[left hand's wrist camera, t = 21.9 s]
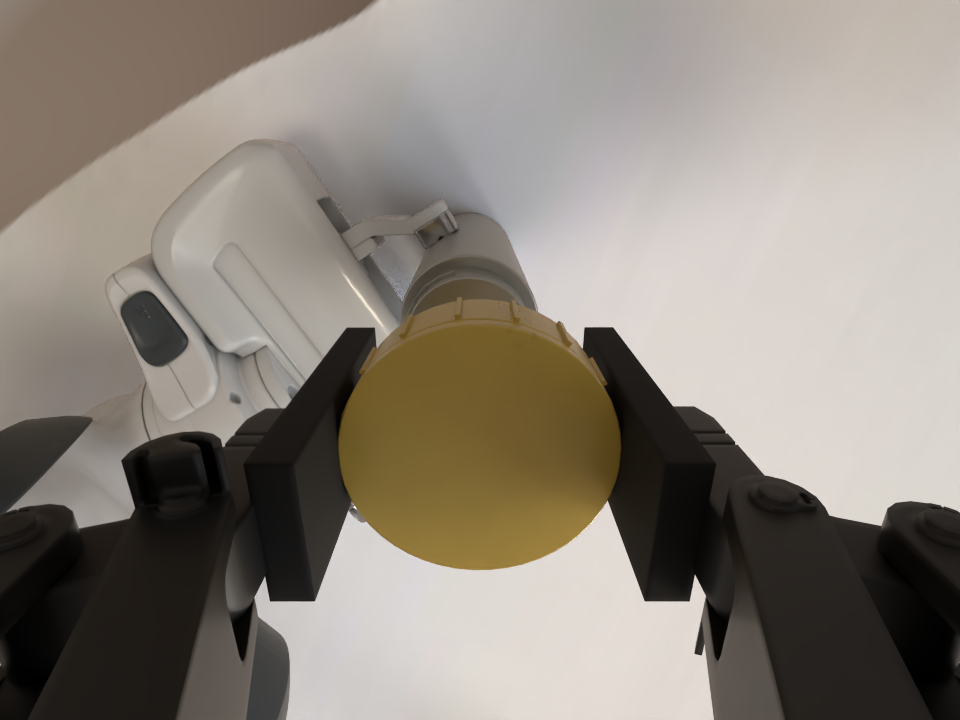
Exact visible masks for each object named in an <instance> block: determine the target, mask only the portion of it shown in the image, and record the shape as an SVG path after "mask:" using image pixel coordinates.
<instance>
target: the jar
mask: <svg viewBox="0 0 960 720" xmlns="http://www.w3.org/2000/svg"><path fill="white" fill-rule="evenodd" d="M454 218H455V220H456V222H457V223H458V225H459V226H458V229H456V230H455V231H454V232H452V233H451V234H449V235H447V236H445V237H444V236H440V237H439V239H438V241H437V242H436V243H435V244H433V245H431V246H430V247H428V248H427V250H426V252H425V255H424V257H423V259H422V261H421V263H420V265H419V267H418V269H417V271H416V274H415V276H414V278H413V280H412V282H411V284H410V286H409V288H408V290H407V293H406V295H405V297H404V300H403V303H402V307H401V312H400V325H401V324H402V323H404V322H405V320H406V318H407V316H408V315H410V314H412V315H413V316H415V315H417V314H419V313H421V312H423V311H426V310H428V309H430V308H433V307H435V306H439V305H442V304H446V303H450V302H455V301H457V298H458V297H462V299H463V300H470V299H489V300H497V301H505V302H509V303H510V302H511V299H512V300H516V303H517V305H521V306H524V307H526V308H529V309H531V310H534V311H536V312H538V308H537V305H536V301H535V298H534V296H533V294H532V291H531V289H530V287H529V284H528V282H527V280H526V278H525V275H524V273H523V271H522V268H521V266H520V264H519V262H518V259H517V257H516V255H515V252H514V250H513V248H512V246H511V243H510V241H509V239H508V236H507V235H506V233H505V231H504V230H503V229H502V227H501V226H500V225H499V224H498V223H497V222H495V221H494V220H493V219H491V218H489V217H487V216H484V215H482V214H477V213H463V214H459V215H456V216H454Z"/></svg>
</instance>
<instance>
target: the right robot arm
mask: <svg viewBox="0 0 960 720" xmlns="http://www.w3.org/2000/svg"><path fill="white" fill-rule="evenodd" d="M458 226H459V225H458V223H457V222H456V220H455V218H454V216H453V215H452V213H451V211H450V209H449V208H448V206H447V204H446V203H445V201H444V200H443V198H442V199H440V200H438V201H437V202H435V203H433V204H432V205H430V206H429V207H427V208H426V209H424V210H422V211H421V212H419V213H418V214H416V215H415V216H413V217H411V216H410V215H388V216H369V217H367V218H366V219H364V220H362V221H361V222H359V223H358V224H356V225H355V226H353V227H351V225H350V224H349V222H348V221H347V219H346V218H345V216H344V215H343V214H342V212H341V211H340V209H339V208H338V206H337V205H336V203H335V202H334V200H333V199H332V197H331V196H330V194H329V193H328V191H327V190H326V188H325V187H324V185H323V184H322V182H321V181H320V180H319V178H318V177H317V175H316V174H315V172H314V171H313V169H312V168H311V166H310V165H309V163H308V162H307V160H306V159H305V157H304V156H303V154H302V153H301V151H300V150H299V149H298V148H297V147H296V146H294V145H292V144H288V143H284V142H280V141H276V140H270V139H255V140H250V141H247V142H244V143H242V144H241V145H239V146H237V147H236V148H234V149H233V150H232V151H230V152H229V153H227V154H226V155H225V156H224V157H222V158H221V159H220V160H219V161H217V162H216V163H215V164H214V165H212V166H211V167H210V168H209V169H208V170H207V171H205V172H204V173H203V174H202V175H201V176H200V177H199V178H198V179H197V180H195V181H194V182H193V183H192V184H191V185H190V186H189V187H188V188H187V189H186V190H185V191H184V192H183V193H182V194H181V195H180V196H179V197H178V198H177V199H176V200H175V201H174V202H173V203H172V204H171V205H170V207H169V208H168V209H167V210H166V211H165V212H164V214H163V215H162V216H161V218H160V219H159V221H158V223H157V225H156V226H155V229H154V232H153V235H152V240H151V253H150V254H148V255H146V256H143V257H141V258H139V259H137V260H135V261H133V262H131V263H130V264H128V265H126V266H124V267H123V268H121V269H120V270H118V271H117V272H115V273H114V274H112V275H111V276H110V277H109V278H108V280H107V281H106V284H105V291H106V295H107V298H108V301H109V303H110V305H111V307H112V309H113V311H114V313H115V315H116V317H117V319H118V321H119V323H120V325H121V327H122V329H123V331H124V333H125V335H126V337H127V339H128V341H129V343H130V345H131V347H132V349H133V351H134V353H135V356H136V358H137V360H138V362H139V365H140V367H141V370H142V372H143V375H144V377H145V379H144V380H143V382H142V383H141V384H140V386H139V387H138V388H137V389H136V390H135V391H134V392H132V393H130V394H126V395H122V396H118V397H115V398H112V399H109V400H107V401H105V402H103V403H101V404H99V405H98V406H96V407H94V408H93V409H91V410H90V411H88V412H87V413H85V414H84V415H82V416H61V417H51V418H40V419H31V420H25V421H22V422H19V423H17V424H15V425H13V426H10V427H8V428H6V429H4V430H2V431H0V516H1V515H2V514H4V513H6V512H9V511H12V510H15V509H17V510H19V508H23V507H27V506H36V505H44V504H56V505H65V506H66V507H68V508H69V509H70V510H72V511H73V513H74V516H75V519H76V522H77V525H78V527H79V528H84V527H89V526H94V525H100V524H105V523H110V522H115V521H120V520H125V519H129V518H130V517H131V515H132V513H133V511H134V509H135V506H134V503H133V499H132V496H131V493H130V489H129V486H128V483H127V479H126V476H125V473H124V469H123V466H122V462H121V460H122V459H123V458H124V457H125V456H126V455H127V454H128V453H129V452H130V451H131V450H133V449H135V448H137V447H138V446H140V445H142V444H144V443H145V442H148V441H151V440H153V439H156V438H159V437H162V436H165V435H170V434H175V433H180V432H191V431H202V432H207V433H213V434H214V435H216V436H217V437H219V438H220V439H221V442H222V447H225V443H226V442H227V441H228V440H229V439H230V438H231V436H234V435H235V432H236V431H237V430H238V428H239V427H240V426H241V425H242V424H243V423H244V422H245V420H246V419H248V418H250V417H252V416H253V415H255V414H257V413H258V412H260V411H262V410H264V409H265V408H286V407H287V405H288V404H289V403H290V401H291V400H292V399H293V397H294V396H295V395H296V393H297V392H298V391H299V390H300V388H301V387H302V386H303V384H304V383H305V382H306V380H307V379H308V378H309V376H310V375H311V374H312V372H313V371H314V370H315V368H316V367H317V366H318V365H319V363H320V362H321V361H322V359H323V358H324V357H325V355H326V354H327V353H328V351H329V350H330V349H331V347H332V346H333V345H334V343H335V342H336V341H337V340H338V338H339V337H340V336H341V334H342V333H343V332H344V330H345V329H346V328H347V327H375V334H376V346H377V348H378V347H379V345H380V344H381V343H382V342H383V341H384V340H385V338H386V337H387V336H388V335H389V334H390V333H391V332H392V331H394V330H395V329H396V328H397V327H399V326H400V312H401V307H402V303H403V302H402V301H401V299H400V298H399V296H398V295H397V293H396V292H395V290H394V289H393V287H392V286H391V285H390V283H389V282H388V280H387V279H386V277H385V276H384V274H383V273H382V271H381V270H380V268H379V267H378V265H377V264H376V262H375V261H374V259H373V258H372V256H371V255H370V253H372V252H373V251H375V250H376V249H377V248H378V247H379V246H380V245H381V244H382V243H383V242H384V240H385V239H384V237H383V236H387V235H415V234H416V236H417V237H418V239H419V240H420V242H421V243H422V245H423V246H424V248H425V249H427V248H428V247H430V246H431V245H433V244H435V243H436V242H437V241H438V239H439V237H440V236H444V237H445V236H447V235H449V234H451V233H452V232H454V231H455V230H456V229H458ZM348 511H349V512H350V513H351V514H352V516H353V517H354V518H356V519H357V520H358V521H360V522H361V523H364V522H366V520H365V519H364V518H363V516H362V515H361V514H360V513H359V511H358V510H357V508H356V507H355V505H354V503H353V502H352V501H351V504H350V507H349V510H348ZM0 666H1V664H0ZM289 688H290V662H289V652H288V647H287V644H286V642H285V640H284V638H283V637H282V636H281V634H279V633H278V632H277V631H276V630H274V629H273V628H272V627H271V626H269V625H268V624H267V623H265V622H264V621H263V620H261V619H260V618H259V617H258V627H257V635H256V643H255V651H254V659H253V667H252V675H251V684H250V692H249V700H248V708H247V716H246V720H286V716H287V710H288V702H289Z"/></svg>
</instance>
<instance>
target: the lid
mask: <svg viewBox="0 0 960 720" xmlns="http://www.w3.org/2000/svg"><path fill="white" fill-rule="evenodd" d="M359 373H360V374H362V375H361V377H360V379H359V381H358V383H357V385H356V386H355V388H354V390H353V392H352V394H351V396H350V398H349V400H348V402H347V404H346V406H345V409H344V411H343V413H342V415H341V416H342V418H341V422H340V428H339V433H338V451H339V460H340V469H341V475H342V478H343V482H344V485H345V487H346V489H347V492H348V494H349V496H350V498H351V500H352V502H353V503H354V505H355V507H356V508H357V510H358V511H359V513H360V514H361V515H362V516H363V518H364V519H365V520H366V521H367V522H368V524H369V525H370V526H371V527H372V528H373V529H374V530H375V531H377V532H378V533H379V534H380V535H381V536H382V537H383V538H385V539H386V540H387V541H389V542H390V543H392V544H393V545H394V546H396V547H398V548H400V549H401V550H403V551H405V552H407V553H408V554H410V555H413V556H415V557H417V558H420V559H422V560H425V561H428V562H431V563H434V564H438V565H441V566H446V567H452V568H457V569H468V570H492V569H501V568H508V567H513V566H517V565H522V564H525V563H528V562H531V561H534V560H537V559H540V558H542V557H544V556H546V555H548V554H551V553H553V552H555V551H556V550H558V549H560V548H561V547H563V546H565V545H566V544H568V543H569V542H570V541H572V540H573V539H574V538H576V537H577V536H578V535H580V534H581V533H582V532H583V531H584V530H585V529H586V528H587V527H588V526H589V525H590V524H591V523H592V522H593V521H594V519H595V518H596V517H597V515H598V514H599V513H600V512H601V510H602V509H603V507H604V505H605V504H606V502H607V500H608V499H609V497H610V495H611V492H612V490H613V487H614V485H615V483H616V480H617V476H618V472H619V465H620V457H621V431H620V427H619V422H618V417H617V414H616V412H615V409H614V406H613V404H612V401H611V399H610V397H609V395H608V394H607V392H606V390H605V388H604V386H605V385H607V382H606V381H605V379H604V377H603V375H602V373H601V371H600V370H599V368H598V366H597V364H596V362H595V361H594V359H593V357H591V358H588V356H587V355H586V353H585V352H584V350H583V349H582V348H581V346H580V345H579V344H578V342H577V341H576V340H575V339H574V338H573V337H572V336H571V335H570V334H569V333H568V332H567V331H566V329H565V327H564V325H563V323H562V322H560V321H559V322H558V323H555V322H554V321H553V320H551V319H549V318H547V317H546V316H544V315H542V314H540V313H538V312H536V311H534V310H531V309H529V308H526V307H524V306H521V305H517V303H516V300H512V299H511V302H510V303H509V302H505V301H497V300H489V299H470V300H463V299H462V297H458V298H457V301H455V302H450V303H446V304H442V305H439V306H435V307H433V308H430V309H428V310H426V311H423V312H421V313H419V314H417V315H415V316H413V315H412V314H410V315H408V316H407V318H406V320H405V322H404V323H402V324H401V325H400V326H399V327H397V328H396V329H395V330H394V331H392V332H391V333H390V334H389V335H388V336H387V337H386V338H385V340H384V341H383V342H382V343H381V344H380V345H379V347H378V348H375V347H373V348H372V350H371V351H370V353H369V355H368V357H367V359H366V360H365V362H364V364H363V366H362V368H361V369H360V371H359Z"/></svg>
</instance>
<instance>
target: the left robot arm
mask: <svg viewBox="0 0 960 720" xmlns="http://www.w3.org/2000/svg"><path fill="white" fill-rule="evenodd" d="M373 347H375V348H377V346H376V334H375V327H347V328H346V329H345V330H344V332H343V333H342V334H341V336H340V337H339V338H338V340H337V341H336V342H335V343H334V345H333V346H332V347H331V349H330V350H329V351H328V353H327V354H326V355H325V357H324V358H323V359H322V361H321V362H320V363H319V365H318V366H317V367H316V368H315V370H314V371H313V372H312V374H311V375H310V376H309V378H308V379H307V380H306V382H305V383H304V384H303V386H302V387H301V388H300V390H299V391H298V392H297V393H296V395H295V396H294V397H293V399H292V400H291V401H290V403H289V404H288V405H287V407H286V408H265V409H264V410H262V411H260V412H258V413H257V414H255V415H253V416H252V417H250V418H248V419H246V420H245V422H244V423H243V424H242V425H241V426H240V427H239V428H238V430H237V431H236V432H235V435H234V436H231V438H230V439H229V440H228V441H227V442H226V443H225V447H222V442H221V439H220V438H219V437H217V436H216V435H214V434H213V433H207V432H202V431H191V432H180V433H175V434H170V435H165V436H162V437H159V438H156V439H153V440H151V441H148V442H145V443H144V444H142V445H140V446H138V447H137V448H135V449H133V450H131V451H130V452H129V453H128V454H127V455H126V456H125V457H124V458H123V459H122V460H121V462H122V466H123V469H124V473H125V476H126V479H127V483H128V486H129V489H130V493H131V496H132V499H133V503H134V506H135V509H134V511H133V513H132V515H131V517H130V518H129V519H125V520H120V521H115V522H110V523H105V524H100V525H94V526H89V527H84V528H79V527H78V525H77V522H76V519H75V516H74V513H73V511H72V510H70V509H69V508H68V507H66V506H65V505H56V504H44V505H36V506H27V507H23V508H19V510H17V509H15V510H12V511H9V512H6V513H4V514H2V515H1V516H0V664H1V666H0V720H246V716H247V708H248V700H249V692H250V684H251V675H252V667H253V659H254V651H255V643H256V635H257V627H258V614H257V608H256V603H255V599H254V597H255V595H256V593H257V591H258V589H259V587H260V585H261V583H262V581H263V579H264V577H265V578H266V583H267V588H268V593H269V598H270V601H315V599H316V597H317V594H318V591H319V589H320V586H321V583H322V580H323V578H324V575H325V572H326V569H327V567H328V564H329V561H330V559H331V556H332V553H333V550H334V548H335V545H336V542H337V540H338V537H339V534H340V531H341V529H342V526H343V523H344V520H345V518H346V515H347V512H348V510H349V507H350V504H351V501H352V500H351V498H350V496H349V494H348V492H347V489H346V487H345V485H344V482H343V478H342V475H341V469H340V460H339V451H338V433H339V428H340V422H341V418H342V416H341V415H342V413H343V411H344V409H345V406H346V404H347V402H348V400H349V398H350V396H351V394H352V392H353V390H354V388H355V386H356V385H357V383H358V381H359V379H360V377H361V375H362V374H360V373H359V371H360V369H361V368H362V366H363V364H364V362H365V360H366V359H367V357H368V355H369V353H370V351H371V350H372V348H373ZM583 350H584V352H585V353H586V355H587V356H588V358H591V357H593V359H594V361H595V362H596V364H597V366H598V368H599V370H600V371H601V373H602V375H603V377H604V379H605V381H606V382H607V385H605V386H604V388H605V390H606V392H607V394H608V395H609V397H610V399H611V401H612V404H613V406H614V409H615V412H616V414H617V417H618V422H619V427H620V431H621V457H620V465H619V472H618V476H617V480H616V483H615V485H614V487H613V490H612V492H611V495H610V497H609V499H608V502H609V505H610V508H611V510H612V513H613V516H614V519H615V521H616V524H617V527H618V530H619V532H620V535H621V538H622V540H623V543H624V546H625V549H626V551H627V554H628V557H629V559H630V562H631V565H632V568H633V570H634V573H635V576H636V579H637V581H638V584H639V587H640V589H641V592H642V595H643V598H644V600H645V601H690V596H691V591H692V586H693V581H694V576H695V575H696V577H697V579H698V581H699V583H700V585H701V587H702V589H703V591H704V593H705V595H706V599H705V603H704V608H703V613H702V618H701V622H700V627H699V632H698V637H697V641H696V647H695V654H698V655H702V652H703V647H704V644H705V650H706V658H707V666H708V674H709V682H710V690H711V698H712V706H713V714H714V720H960V513H959V512H958V511H956V510H953V509H950V508H947V507H944V508H943V507H941V506H940V505H936V504H931V503H920V502H912V501H909V502H900V503H895V504H894V505H892V506H891V507H889V508H888V509H887V512H886V515H885V518H884V520H883V523H882V526H878V525H873V524H868V523H862V522H857V521H852V520H847V519H842V518H837V517H833V516H829V514H828V512H827V510H826V508H825V507H824V506H823V504H822V503H821V502H820V501H819V500H818V498H817V497H816V496H814V495H813V494H811V493H810V492H808V491H807V490H805V489H804V488H802V487H800V486H798V485H795V484H793V483H790V482H788V481H786V480H782V479H778V478H774V477H770V476H765V475H764V474H763V473H762V472H761V471H760V470H759V469H758V468H757V466H756V465H755V464H754V463H753V462H752V461H751V460H750V458H749V457H748V456H747V455H746V454H745V453H744V452H743V450H742V449H741V448H740V447H739V446H738V445H735V441H734V440H733V439H732V438H731V437H730V436H729V435H728V434H726V433H725V430H724V429H723V428H722V427H721V426H720V424H719V423H718V422H717V421H716V420H715V419H714V418H713V417H711V416H710V415H708V414H706V413H705V412H703V411H701V410H699V409H698V408H696V407H673V406H672V404H671V403H670V402H669V401H668V399H667V398H666V397H665V395H664V394H663V393H662V391H661V390H660V389H659V387H658V386H657V385H656V383H655V382H654V381H653V379H652V378H651V377H650V376H649V374H648V373H647V372H646V370H645V369H644V368H643V366H642V365H641V364H640V362H639V361H638V360H637V358H636V357H635V356H634V354H633V353H632V352H631V350H630V349H629V348H628V347H627V345H626V344H625V343H624V341H623V340H622V339H621V337H620V336H619V335H618V333H617V332H616V331H615V329H614V328H613V327H585V329H584V342H583Z"/></svg>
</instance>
